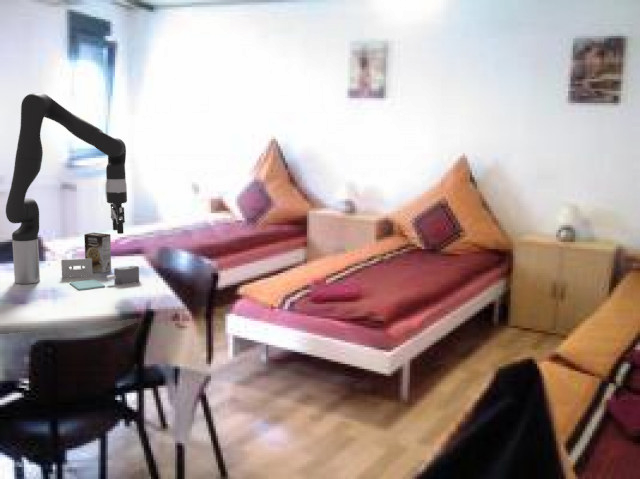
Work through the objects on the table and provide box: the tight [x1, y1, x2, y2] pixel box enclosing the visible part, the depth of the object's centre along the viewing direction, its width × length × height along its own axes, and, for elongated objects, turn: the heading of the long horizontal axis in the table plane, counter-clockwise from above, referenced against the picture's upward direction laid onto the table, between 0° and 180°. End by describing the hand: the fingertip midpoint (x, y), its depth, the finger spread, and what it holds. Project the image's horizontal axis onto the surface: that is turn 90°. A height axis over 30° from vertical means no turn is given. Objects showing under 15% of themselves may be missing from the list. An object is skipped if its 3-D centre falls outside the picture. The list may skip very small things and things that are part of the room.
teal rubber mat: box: [69, 278, 106, 291], centre depth 259 cm, size 12×10×1 cm
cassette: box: [60, 258, 94, 279], centre depth 271 cm, size 12×2×8 cm, turn 108°
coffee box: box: [84, 232, 112, 274], centre depth 283 cm, size 9×6×16 cm
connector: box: [106, 265, 140, 285], centre depth 264 cm, size 4×13×6 cm, turn 127°
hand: (118, 231), depth 256 cm, fingers open, 8 cm apart
